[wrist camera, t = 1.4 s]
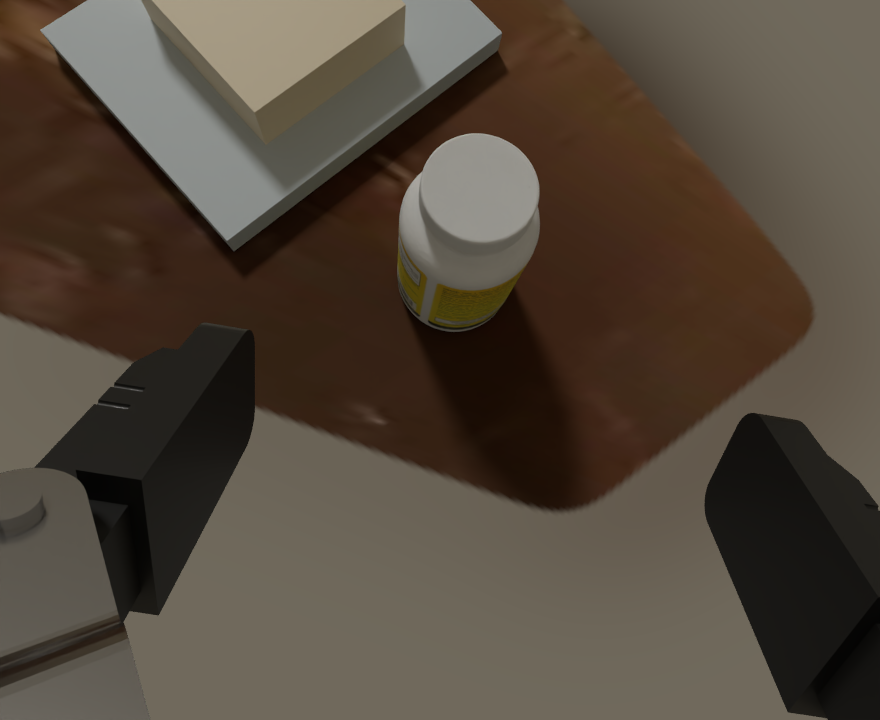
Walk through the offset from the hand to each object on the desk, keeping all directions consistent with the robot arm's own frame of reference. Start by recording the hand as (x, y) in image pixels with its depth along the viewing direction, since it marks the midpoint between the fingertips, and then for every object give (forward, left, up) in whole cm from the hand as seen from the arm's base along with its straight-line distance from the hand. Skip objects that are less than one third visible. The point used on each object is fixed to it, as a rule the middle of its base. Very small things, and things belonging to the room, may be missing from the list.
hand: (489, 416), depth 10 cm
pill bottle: (+8, +6, -23) cm, 25 cm away
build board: (+10, +23, -23) cm, 34 cm away
